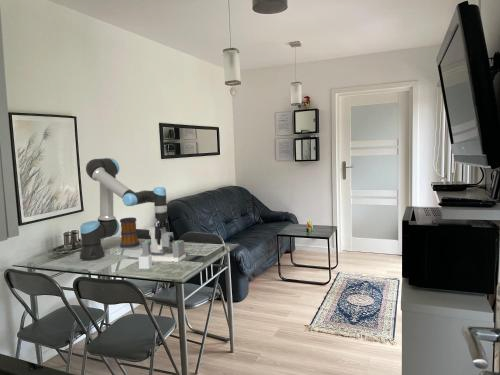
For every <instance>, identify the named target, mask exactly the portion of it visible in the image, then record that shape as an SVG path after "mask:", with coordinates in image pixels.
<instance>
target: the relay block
mask: <svg viewBox="0 0 500 375" xmlns="http://www.w3.org/2000/svg"><path fill="white" fill-rule="evenodd" d="M152 266H153V261H152V255H150V254H143V253H142V254H140V255H139V256H138V268H139V270H140V269H145V270H146V269H148V270H149V269H151V268H152Z"/></svg>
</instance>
